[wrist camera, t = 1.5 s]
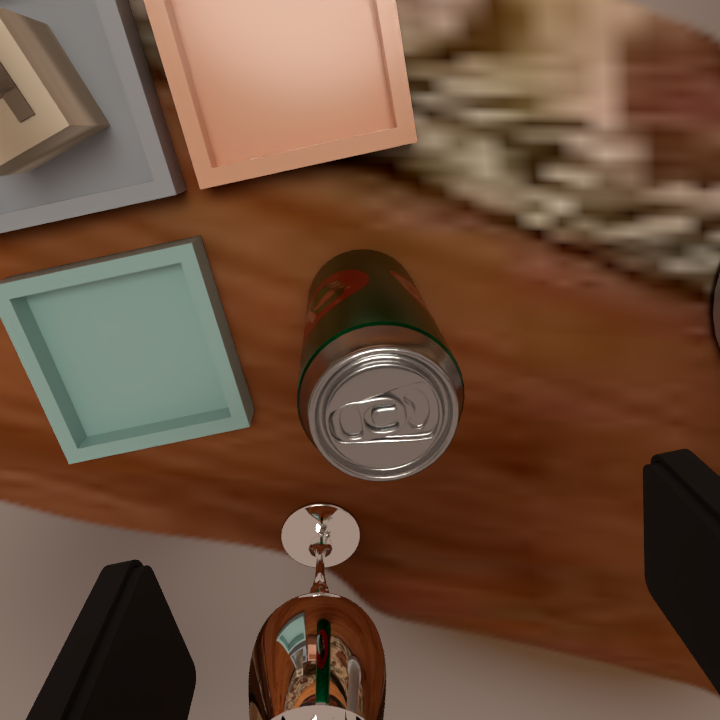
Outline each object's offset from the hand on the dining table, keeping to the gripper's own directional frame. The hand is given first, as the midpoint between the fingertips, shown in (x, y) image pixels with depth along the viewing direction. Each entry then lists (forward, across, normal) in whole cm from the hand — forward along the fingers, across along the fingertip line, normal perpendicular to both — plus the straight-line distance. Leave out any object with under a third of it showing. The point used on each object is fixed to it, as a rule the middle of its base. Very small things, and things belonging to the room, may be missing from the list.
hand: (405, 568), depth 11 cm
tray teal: (+18, +11, 0) cm, 21 cm away
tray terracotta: (+18, +1, -11) cm, 21 cm away
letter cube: (+17, +11, -11) cm, 23 cm away
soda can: (+18, 0, 0) cm, 18 cm away
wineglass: (+18, +5, +13) cm, 23 cm away
